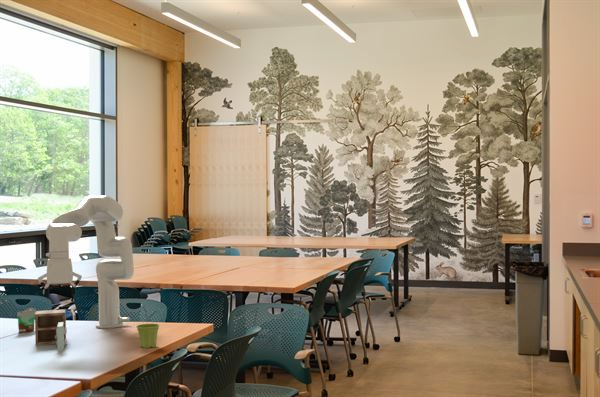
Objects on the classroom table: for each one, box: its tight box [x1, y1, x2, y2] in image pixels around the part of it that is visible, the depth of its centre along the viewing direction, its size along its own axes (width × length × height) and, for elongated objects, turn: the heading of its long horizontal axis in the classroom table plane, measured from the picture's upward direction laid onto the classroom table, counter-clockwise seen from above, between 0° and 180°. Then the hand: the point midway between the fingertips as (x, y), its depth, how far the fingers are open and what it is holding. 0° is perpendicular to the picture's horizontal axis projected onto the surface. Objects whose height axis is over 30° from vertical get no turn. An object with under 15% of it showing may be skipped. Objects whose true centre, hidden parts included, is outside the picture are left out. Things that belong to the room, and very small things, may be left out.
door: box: [55, 322, 68, 352], centre depth 317 cm, size 15×4×10 cm, turn 15°
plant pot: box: [135, 323, 160, 349], centre depth 317 cm, size 9×9×9 cm
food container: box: [16, 307, 37, 334], centre depth 357 cm, size 12×6×10 cm, turn 179°
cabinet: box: [34, 309, 67, 346], centre depth 327 cm, size 12×14×13 cm
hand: (60, 297), depth 317 cm, fingers open, 9 cm apart
